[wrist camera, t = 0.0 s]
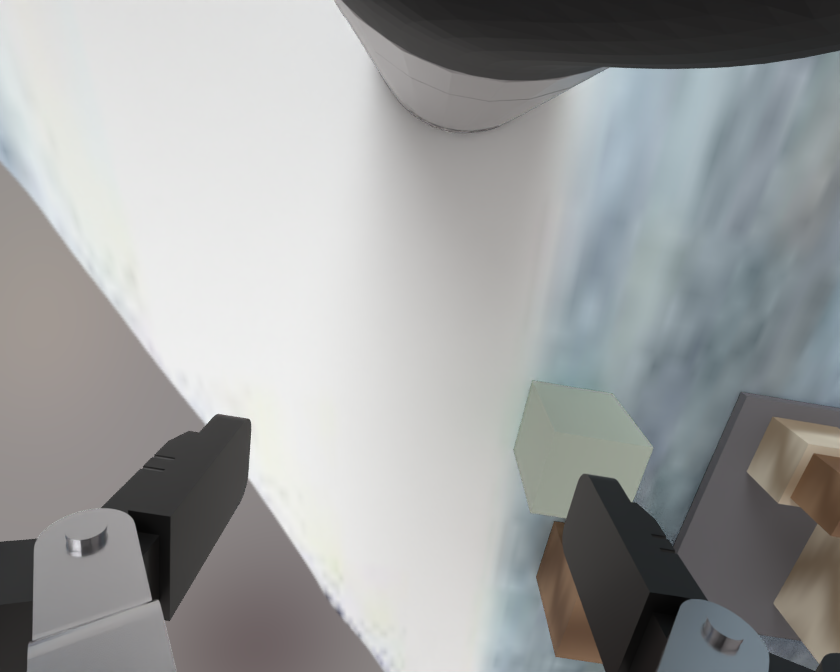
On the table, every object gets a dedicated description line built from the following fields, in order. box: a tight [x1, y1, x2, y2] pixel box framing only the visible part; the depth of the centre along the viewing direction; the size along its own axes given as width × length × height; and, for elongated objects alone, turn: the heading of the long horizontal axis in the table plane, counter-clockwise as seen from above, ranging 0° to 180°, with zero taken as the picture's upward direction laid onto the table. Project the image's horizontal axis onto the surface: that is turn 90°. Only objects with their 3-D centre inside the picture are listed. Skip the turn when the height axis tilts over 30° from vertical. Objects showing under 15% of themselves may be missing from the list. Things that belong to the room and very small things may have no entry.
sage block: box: [514, 380, 653, 518], centre depth 28 cm, size 5×5×6 cm
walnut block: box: [536, 521, 603, 664], centre depth 31 cm, size 5×5×6 cm
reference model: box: [747, 417, 840, 538], centre depth 27 cm, size 4×4×6 cm
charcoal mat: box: [673, 392, 840, 641], centre depth 32 cm, size 18×18×1 cm
